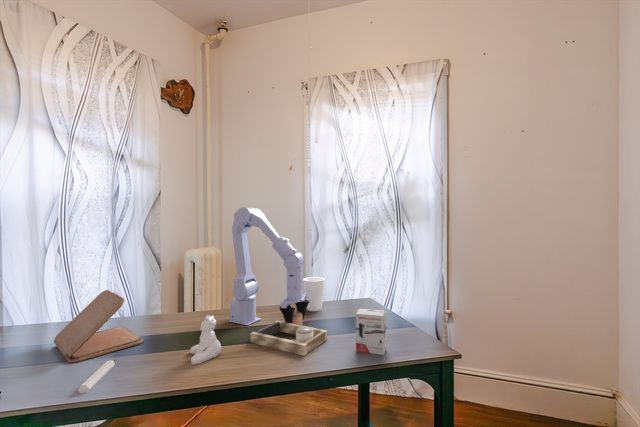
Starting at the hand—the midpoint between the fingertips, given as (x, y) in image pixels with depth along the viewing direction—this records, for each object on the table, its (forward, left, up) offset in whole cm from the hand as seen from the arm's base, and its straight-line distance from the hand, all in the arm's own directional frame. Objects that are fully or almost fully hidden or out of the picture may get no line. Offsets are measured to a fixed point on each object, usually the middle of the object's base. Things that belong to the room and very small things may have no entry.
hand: (295, 322), depth 122 cm
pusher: (-4, -12, -1) cm, 13 cm away
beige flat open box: (+6, -12, -1) cm, 13 cm away
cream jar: (+12, -12, -2) cm, 17 cm away
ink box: (+32, -6, -2) cm, 33 cm away
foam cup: (-5, +22, -2) cm, 23 cm away
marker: (-24, -55, -2) cm, 60 cm away
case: (-46, -44, -2) cm, 64 cm away
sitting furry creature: (-9, -33, -2) cm, 34 cm away
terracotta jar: (0, 0, -2) cm, 2 cm away
